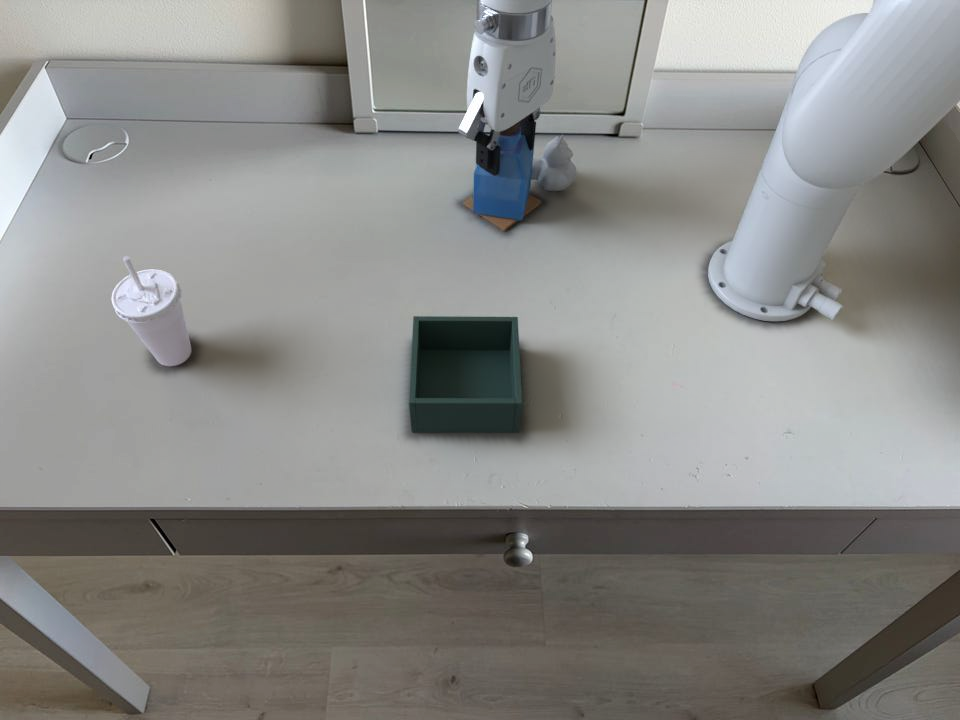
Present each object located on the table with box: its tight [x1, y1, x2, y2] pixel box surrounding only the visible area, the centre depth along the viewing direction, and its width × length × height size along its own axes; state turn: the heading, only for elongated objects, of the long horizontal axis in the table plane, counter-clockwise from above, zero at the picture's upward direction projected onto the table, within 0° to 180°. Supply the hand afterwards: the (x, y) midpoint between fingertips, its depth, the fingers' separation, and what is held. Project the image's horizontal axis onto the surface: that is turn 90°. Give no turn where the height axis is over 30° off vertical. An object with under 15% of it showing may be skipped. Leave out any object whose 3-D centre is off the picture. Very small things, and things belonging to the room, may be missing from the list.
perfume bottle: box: [472, 121, 535, 221], centre depth 93 cm, size 6×6×12 cm
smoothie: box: [110, 255, 192, 367], centre depth 78 cm, size 6×6×14 cm
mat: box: [462, 193, 542, 232], centre depth 98 cm, size 7×7×1 cm
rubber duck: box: [531, 133, 578, 192], centre depth 98 cm, size 5×7×8 cm
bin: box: [408, 315, 523, 433], centre depth 79 cm, size 11×11×5 cm
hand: (505, 156), depth 93 cm, fingers closed on perfume bottle, 5 cm apart
